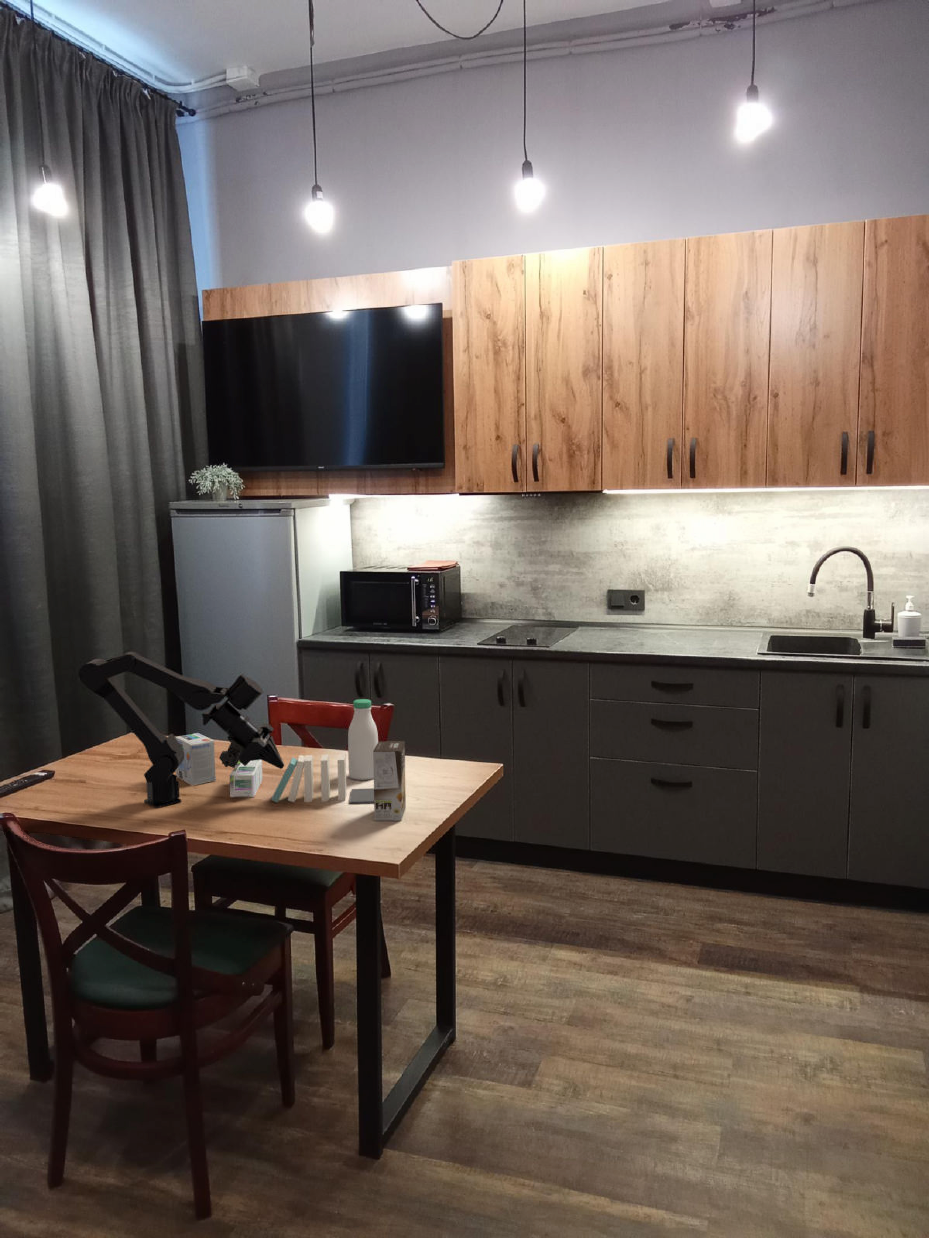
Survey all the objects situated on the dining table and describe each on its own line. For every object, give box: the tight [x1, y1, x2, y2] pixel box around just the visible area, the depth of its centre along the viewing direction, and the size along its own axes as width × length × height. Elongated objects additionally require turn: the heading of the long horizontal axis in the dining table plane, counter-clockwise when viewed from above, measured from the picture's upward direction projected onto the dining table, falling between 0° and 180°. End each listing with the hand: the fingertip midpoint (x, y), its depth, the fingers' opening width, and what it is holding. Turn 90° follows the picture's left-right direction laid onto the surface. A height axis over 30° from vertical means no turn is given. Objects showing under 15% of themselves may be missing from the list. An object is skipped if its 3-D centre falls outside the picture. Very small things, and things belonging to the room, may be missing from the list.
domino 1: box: [271, 756, 298, 803], centre depth 227 cm, size 2×5×10 cm, turn 3°
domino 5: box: [336, 753, 347, 802], centre depth 228 cm, size 2×5×10 cm, turn 4°
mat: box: [349, 787, 374, 805], centre depth 229 cm, size 10×10×1 cm
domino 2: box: [287, 754, 306, 803], centre depth 227 cm, size 2×5×10 cm, turn 4°
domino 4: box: [320, 754, 331, 802], centre depth 228 cm, size 2×5×10 cm, turn 4°
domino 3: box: [303, 754, 314, 803], centre depth 227 cm, size 2×5×10 cm, turn 4°
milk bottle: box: [347, 698, 379, 781], centre depth 245 cm, size 8×8×20 cm
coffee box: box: [373, 740, 407, 822], centre depth 215 cm, size 9×6×16 cm
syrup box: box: [229, 760, 263, 798], centre depth 236 cm, size 6×6×14 cm
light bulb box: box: [174, 732, 217, 786], centre depth 244 cm, size 11×7×11 cm, turn 38°
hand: (282, 767), depth 227 cm, fingers closed
